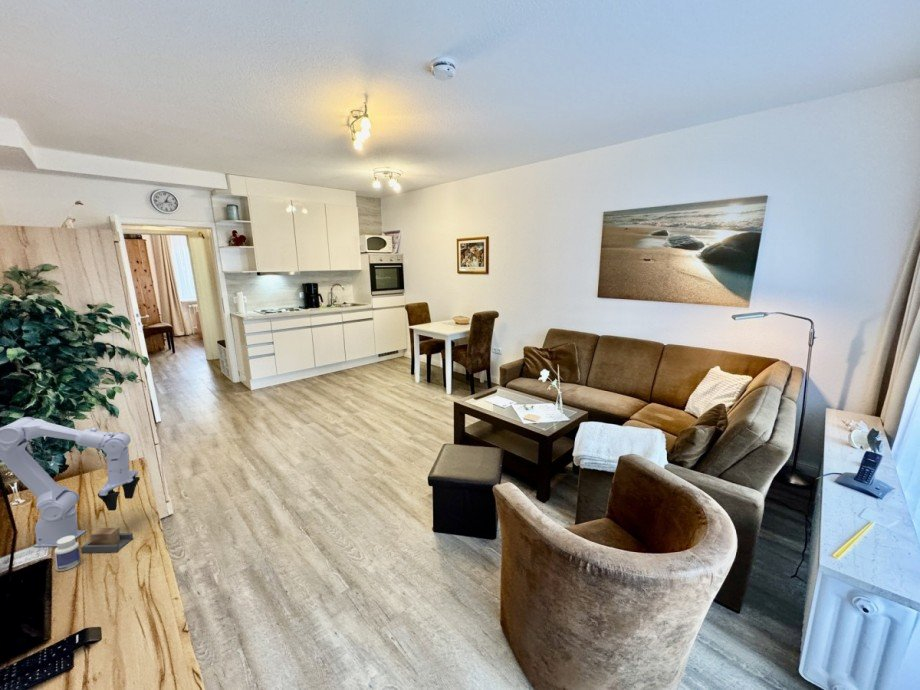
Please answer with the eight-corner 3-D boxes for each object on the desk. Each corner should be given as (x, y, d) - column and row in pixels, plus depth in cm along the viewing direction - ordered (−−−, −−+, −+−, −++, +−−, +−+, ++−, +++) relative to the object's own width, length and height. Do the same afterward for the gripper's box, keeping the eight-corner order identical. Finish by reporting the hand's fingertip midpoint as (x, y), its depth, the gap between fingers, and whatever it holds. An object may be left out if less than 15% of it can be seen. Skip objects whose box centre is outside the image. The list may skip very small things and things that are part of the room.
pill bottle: (84, 562, 117) (82, 536, 116) (62, 573, 112) (59, 546, 111) (73, 557, 119) (71, 532, 118) (51, 568, 114) (49, 542, 113)
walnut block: (91, 548, 123) (90, 534, 122) (100, 541, 126) (99, 527, 126) (111, 547, 123) (110, 534, 123) (119, 541, 127) (119, 527, 126)
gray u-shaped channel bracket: (81, 553, 121) (80, 547, 121) (99, 539, 128) (99, 533, 128) (116, 552, 122) (116, 546, 122) (132, 538, 129) (132, 533, 129)
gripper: (114, 477, 124) (116, 515, 126) (145, 459, 138) (147, 493, 140) (91, 477, 123) (93, 515, 125) (125, 459, 137) (127, 493, 139)
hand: (120, 503), depth 132 cm, fingers open, 7 cm apart
